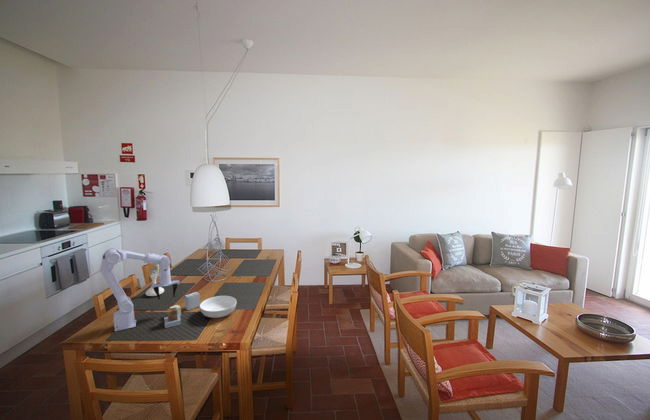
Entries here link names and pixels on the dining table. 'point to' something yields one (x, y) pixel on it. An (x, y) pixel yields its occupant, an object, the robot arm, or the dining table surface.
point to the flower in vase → (151, 291)
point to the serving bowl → (218, 306)
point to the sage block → (177, 309)
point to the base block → (172, 322)
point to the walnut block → (172, 314)
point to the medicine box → (192, 300)
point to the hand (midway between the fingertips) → (166, 297)
